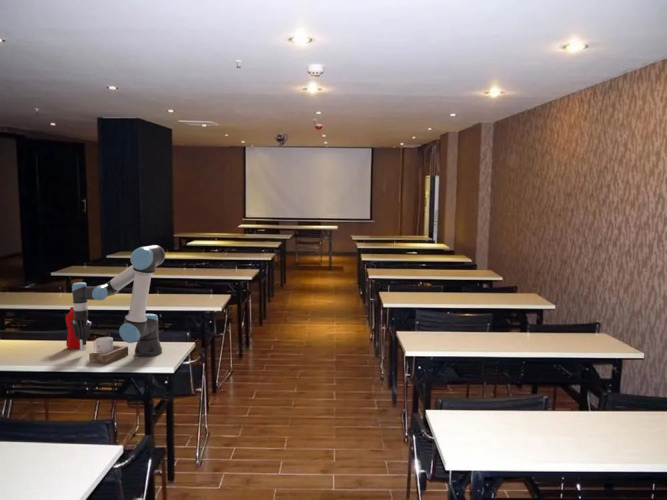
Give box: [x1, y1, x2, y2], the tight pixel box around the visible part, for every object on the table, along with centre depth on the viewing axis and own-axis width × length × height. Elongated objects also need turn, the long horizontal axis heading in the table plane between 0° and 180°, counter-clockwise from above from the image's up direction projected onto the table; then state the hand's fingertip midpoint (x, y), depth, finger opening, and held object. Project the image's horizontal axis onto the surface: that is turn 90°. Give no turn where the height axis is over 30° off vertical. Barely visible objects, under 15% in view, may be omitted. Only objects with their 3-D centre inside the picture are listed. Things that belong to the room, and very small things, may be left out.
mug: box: [93, 336, 114, 354], centre depth 329 cm, size 12×9×11 cm
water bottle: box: [65, 306, 80, 351], centre depth 350 cm, size 9×11×25 cm
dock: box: [88, 344, 129, 365], centre depth 328 cm, size 11×19×5 cm, turn 163°
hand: (83, 350), depth 334 cm, fingers closed
